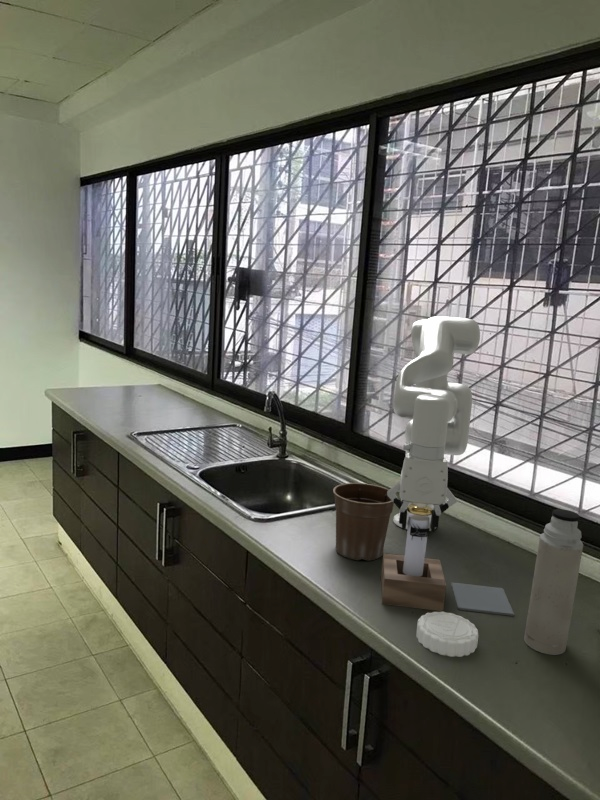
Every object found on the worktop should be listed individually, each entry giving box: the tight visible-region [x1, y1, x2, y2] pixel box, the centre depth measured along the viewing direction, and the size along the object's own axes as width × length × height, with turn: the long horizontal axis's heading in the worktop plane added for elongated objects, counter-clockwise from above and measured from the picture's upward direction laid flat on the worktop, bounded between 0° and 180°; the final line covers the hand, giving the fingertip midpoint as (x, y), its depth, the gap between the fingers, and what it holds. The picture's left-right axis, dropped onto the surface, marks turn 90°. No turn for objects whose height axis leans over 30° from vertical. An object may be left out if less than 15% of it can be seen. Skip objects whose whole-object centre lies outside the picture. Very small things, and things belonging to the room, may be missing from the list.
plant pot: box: [332, 482, 398, 562], centre depth 167 cm, size 16×16×16 cm
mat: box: [450, 582, 515, 617], centre depth 148 cm, size 12×12×1 cm
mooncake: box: [415, 610, 479, 658], centre depth 130 cm, size 12×12×4 cm
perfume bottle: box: [403, 503, 434, 577], centre depth 146 cm, size 6×6×20 cm
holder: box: [380, 552, 447, 612], centre depth 148 cm, size 13×13×6 cm
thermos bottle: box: [523, 508, 584, 656], centre depth 129 cm, size 8×8×28 cm
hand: (417, 527), depth 146 cm, fingers closed on perfume bottle, 5 cm apart
